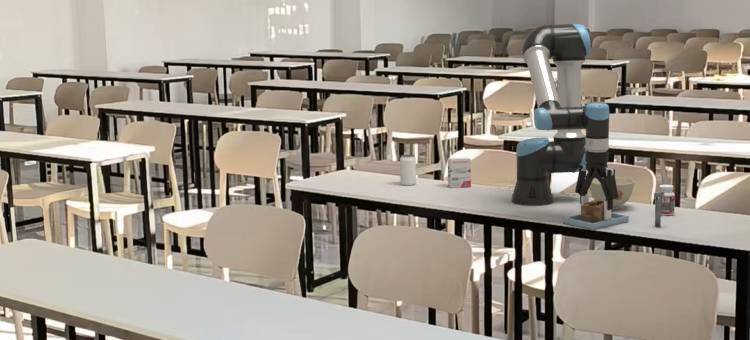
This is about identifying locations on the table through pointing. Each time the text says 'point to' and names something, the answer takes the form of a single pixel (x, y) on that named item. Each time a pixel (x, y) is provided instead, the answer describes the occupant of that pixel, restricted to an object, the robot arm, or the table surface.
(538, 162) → the robot arm
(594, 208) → the brown wooden hollow block
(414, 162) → the can
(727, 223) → the table surface
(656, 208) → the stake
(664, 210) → the pill bottle
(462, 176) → the ink box
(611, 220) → the tray
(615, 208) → the bowl
